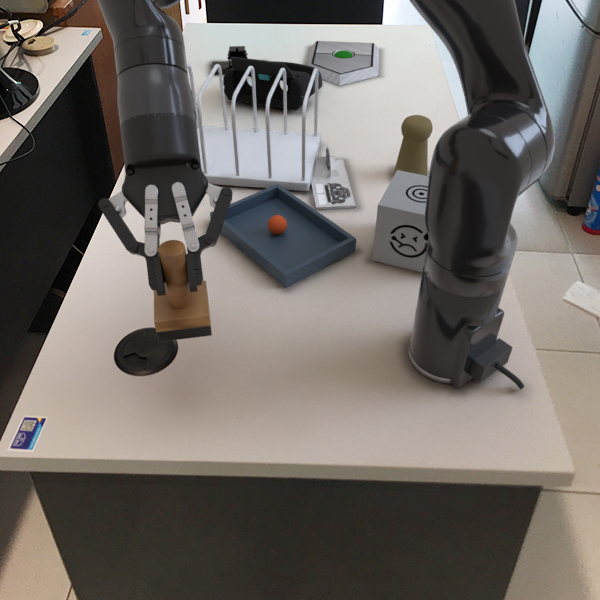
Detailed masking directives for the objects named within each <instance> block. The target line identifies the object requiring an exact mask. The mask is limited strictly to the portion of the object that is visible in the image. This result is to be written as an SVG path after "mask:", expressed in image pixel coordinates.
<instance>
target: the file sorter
mask: <svg viewBox="0 0 600 600" xmlns="http://www.w3.org/2000/svg"><path fill="white" fill-rule="evenodd" d="M217 69H218V72H219V75H218V78H219V88H220V96H221V97H220V98H221V104H222V114H223V123H224V124H223V125H224V126H214V125H203V117H202V116H203V115H202V99H203V94H204V93H205V90H206V89H207V88H208V86H209V84H210V82H211V80H212V79H213V77H214V76H215V75H214V74H215V72H216V70H217ZM187 71H188V76H189V83H190V87H191V91H192V95H193V101H194V109H195V112H196V125H197V126H196V127H197V134H198V142H199V151H200V159H201V168H202V171H203V173H204V175H205V176H206V178H207V180H208V183H210V184H212V185H222V186H232V187H233V186H234V187H244V188H245V187H248V188H259V189H267V188H269V187H271V186H274V185H276V184H279V185H280V186H282V187H283V188H285V189H286V190H287V191H298V192H299V191H301V192H309V191H310V186H311V180H312V176H313V172H314V168H315V164H316V161H317V160H318V158H319V157H318V156H319V153H320V149H321V145H322V142H323V141H322V140H323V139H322V134H321V133H318V121H319V120H318V117H319V90H318V69H317V68H315V69H314V70H313V73H312V76H311V79H310V82H309V85H308V88H307V91H306V94H305V97H304V101H303V105H302V109H301V131H288V109H287V90H288V87H287V84H286V70H285V68H281V69H280V71H279V73H278V75H277V77H276V79H275V81H274V84H273V86H272V88H271V90H270V92H269V94H268V97H267V101H266V106H265V113H264V115H265V129H260V128H258V110H257V104H256V85H255V71H254V68H253V66H249V67H248V69H247V70H246V72H245V74H244V76H243V77H242V79H241V81H240V83H239V84H238V86H237V88H236V90H235V92H234V94H233V97H232V101H231V104H230V105H231V106H230V114H231V115H230V116H231V117H230V118H231V126H229V124H228V114H227V113H228V112H227V105H226V95H225V94H224V85H223V76H224V75H222V70H221V66H220V65H219V64H216V65H215V66H214V67H213V69H212V71H211V70H210V73H209V74H208V75H207V78H206V79H205V81H203V84H202V85H201V88H200V89H199V91H198V94H197V97H196V90H195V89H196V88H195V81H194V72H193V68H192V66H191V64H190V63H187ZM250 71H251V75H252V78H251V86H252V93H253V104H252V111H253V112H252V113H253V127H254V128H244V127H237V122H236V121H237V120H236V119H237V118H236V102H237V101H236V97H237V95H238V93H239V91H240V89H241V87H242V85H243V84H244V82H245V80H246V78H247V79H248V77H249V76H248V75H249V73H250ZM282 73H283V81H282V89H283V101H284V108H283V130H274V129H271V124H270V123H271V122H270V107H271V106H270V100H271V97H272V95H273V93H274V91H275V88H276V86H277V84H278V82H279V80H280V78H281V75H282ZM314 79H315V93H314V116H313V120H314V121H313V132H306V128H307V127H306V126H307V125H306V124H307V106H308V101H309V99H310V98H309V94H310V91H311V88H312V85H313V82H314ZM308 98H309V99H308Z"/></svg>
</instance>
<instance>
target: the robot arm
mask: <svg viewBox="0 0 600 600" xmlns="http://www.w3.org/2000/svg"><path fill="white" fill-rule="evenodd" d="M96 1H97V4H98V7H99V9H100V12H101V14H102V17H103V21H104V22H105V25H106V28H107V30H108V32H109V35H110V37H111V39H112V40H111V41H112V45H113V55H114V63H115V72H116V79H117V80H116V81H117V82H116V83H117V92H116V95H117V97H116V101H117V112H118V120H119V130H120V138H121V147H122V148H121V149H122V157H123V165H124V173H125V174H124V180H123V183H122V185H121V191H119V192H118V193H116V194H115V195H113V196H110V197H109V198H107V197H103V198H101V199H99V200H98V203H97V205H98V208H99V209H100V212H102V214H103V215H104V218H105V219H106V221H107V222H108V224H109V225H110V226H111V228H112V230H113V231H114V233H115V234H116V236H117V238H118V239H119V240H120V242H121V243H122V245H123V247H124V248H125V250H126V251H127V252H129V253H130V254H131V255H133V256H134V255H135V256H140V257H142V258H144V259H145V263H146V271H147V279H148V286H149V288H150V290H151V291H153V292H154V290H157V295H158V296H162V295H166V290H165V282H164V276H163V271H162V266H161V261H160V257H159V252H158V248H159V246H160V245H161V232H162V231H161V228H162V225H165V224H167V223H170V222H171V223H176V224H180V225H181V229H182V232H183V236H184V240H185V244H186V262H187V270H188V279H189V287H190V292H198V289H197V286H199V285H202V283H203V281H204V274H203V266H202V265H203V264H202V257H201V255H202V253H203V252H204V251H205V250H207V249H209V248H214V247H215V246H216V245H217V244H218V240H219V238H220V235H221V233H220V232H221V229H222V226H223V224H224V221H225V218H226V215H227V212H228V209H229V207H230V204H231V203H232V201H233V190H232V188H230V187H229V186H224V187H220V186H218V185H216V184H210V183H208V180H207V178H206V176H205V175H204V173H203V171H202V168H201V159H200V151H199V142H198V134H197V127H196V126H197V125H196V112H195V109H194V101H193V95H192V91H191V83H190V77H189V70H188V68H187V64H188V63H187V55H186V47H185V46H186V45H185V40H184V39H185V38H184V35H183V34H184V33H183V30H182V28H181V26H180V25H179V23H178V22H177V20H175V19H174V18H173V17H171V16H170V15H169V14H167V13H166V12H165V11H164V10H165V9H169V8H171V7H174V6H175V5H177V4H178V3H179V2H181V0H96ZM409 2H410V3H411V5H412V6H413V8H414V9H415V10H416V12H417V13H418V14H419V15H420V16H421V18H422V19H423V20H424V21H425V22H426V24H428V26H429V27H430V29H431V30H432V31H433V32H434V33H435V34H436V35H437V37H438V38H439V40H440V41H441V42H442V43H443V45H444V46H445V48H446V49H447V51H448V53H449V55H450V57H451V59H452V61H453V63H454V66H455V69H456V72H457V74H458V78H459V82H460V85H461V89H462V93H463V97H464V101H465V107H466V113H467V115H466V116H465V117H463V118H462V119H460V120H458V121H457V122H455V123H454V124H452V125H451V126H450V127H448V128H447V129H446V130H445V131H444V132H443V133H442V134H441V136H440V137H439V138H438V140H437V142H436V145H435V147H434V150H433V153H432V157H431V161H430V166H429V173H428V176H429V180H428V189H427V198H426V207H425V225H426V230H427V233H428V236H429V237H428V244H427V250H426V256H425V262H424V267H423V272H422V273H421V278H420V284H419V290H418V295H417V302H416V306H415V307H416V308H415V313H414V318H413V324H412V331H411V336H410V339H409V343H408V349H407V350H408V351H407V353H408V358H409V361H410V363H411V365H412V366H413V367H414V369H415V370H416V371H417V372H418V373H420V374H421V375H422V376H424V377H425V378H427V379H430V380H432V381H434V382H437V383H441V384H449V385H451V386H452V387H453V388H455V389H460V388H461V387H462V386H463V385H465V384H467V382H469V381H470V380H472V379H473V380H475V381H476V382H478V384H481V383H482V382H484V381H485V380H486V379H488V378H489V377H490V376H493V374H494V373H496V372H497V371H499V372H500V373H502V374H503V376H505V377H507V378H508V379H509V380H511V381H512V382H513V383H514V384H515V385H516V386H517V388H518V389H520V390H522V389H524V388H525V385H524V383H523V382H522V380H521V379H520V378H519V377H517V375H515V374H514V373H513V372H511V370H509V369H507V368H506V367H505V365H506V364H508V362H509V359H510V356H511V354H512V351H513V346H511V345H510V344H509V343H507V342H506V341H504V340H503V339H501V338H500V337H498V336H499V333H500V331H501V327H502V324H503V319H504V316H505V311H504V310H503V309H502V308H500V304H501V301H502V297H503V293H504V291H505V287H506V283H507V281H508V277H509V274H510V271H511V266H512V263H513V261H514V257H515V254H516V251H517V246H518V233H517V231H516V230H515V227H514V226H513V224H512V223H511V221H512V217H513V213H514V210H515V206H516V203H517V201H518V198H519V197H520V196H521V195H522V194H523V193H524V192H526V191H527V190H528V189H529V188H530V187H531V186H533V185H534V184H535V183H536V182H538V181H539V180H540V179H541V178H542V177H543V176H544V175H545V174H546V172H547V171H548V169H549V168H550V165H551V163H552V162H553V158H554V155H555V150H556V137H555V130H554V125H553V123H552V119H551V116H550V113H549V109H548V106H547V104H546V100H545V97H544V95H543V92H542V89H541V86H540V84H539V80H538V78H537V75H536V71H535V69H534V67H533V63H532V61H531V57H530V55H529V51H528V49H527V45H526V42H525V39H524V36H523V31H522V27H521V23H520V19H519V14H518V9H517V5H516V1H515V0H409ZM206 195H208V197H209V205H210V207H211V208H212V209H213V210H212V212H213V214H212V217H211V219H209V223H208V225H207V229H206V232H205V233H204V234H202V235H200V236H198V235H197V230H196V226H195V223H194V219H193V217H194V215H195V213H196V212H197V210H198V208H199V206H200V205H201V204H202V201H203V200H204V198H205V196H206ZM126 203H129V204H130V205H131V206H132V207H133V208H134V209H135V210H136V211H137V212H138V214H139V215H140V216H141V217H142V219H144V225H143V227H144V242H143V241H139V240H138V239H136V237H135V236H134V234H133V233H132V231H131V229H130V228H129V226H128V224H127V223H126V222H125V221H124V219H123V218H124V217H126V215H127V209H126Z"/></svg>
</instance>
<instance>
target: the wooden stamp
mask: <svg viewBox="0 0 600 600" xmlns="http://www.w3.org/2000/svg"><path fill="white" fill-rule="evenodd" d="M158 252H159V257H160V261H161V266H162V271H163V276H164V282H165V290H166V295H162V296H158V295H157V290H154V291H153V324H154V328H155V332H156V337H157V342H159V343H162V342H172V341H179V340H186V339H187V340H188V339H194V338H203V337H210V336H212V335H213V331H212V320H211V312H210V311H211V309H210V301H209V293H208V286H207V281H206V280H203V283H202V285H199V286H197V289H198V292H190V287H189V279H188V270H187V262H186V254H187V248H186V245H185V243H184V242H183V241H181V240H178V239H170V240H166V241H164V242H162V243H160V246H159V248H158Z"/></svg>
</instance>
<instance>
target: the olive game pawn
mask: <svg viewBox="0 0 600 600" xmlns="http://www.w3.org/2000/svg"><path fill="white" fill-rule="evenodd" d="M400 130H401V135H402V136H403V137H402V140H401V144H400V147H399V151H398V155H397V159H396V162H395V167H394V170H393V177H394V175H395V173H396V171H397V170H400V171H405V172H410V173H415V174H420V175H425V176H428V160H429V159H428V157H429V156H428V155H429V154H428V151H429V146H428V144H429V141H428V140H429V139H430V138H431V135H432V133H433V122H432V120H431V118H429V117H427V116H425V115H421V114H412V115H408V116H406V117H405V118H404V119H403V121H402V122H401V126H400Z"/></svg>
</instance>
